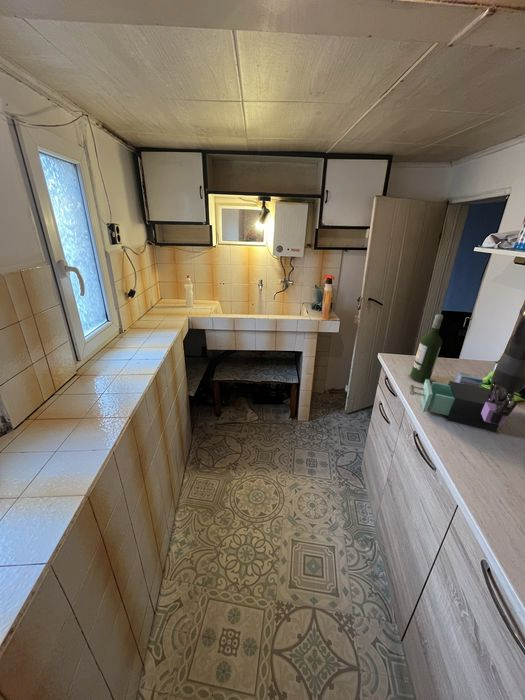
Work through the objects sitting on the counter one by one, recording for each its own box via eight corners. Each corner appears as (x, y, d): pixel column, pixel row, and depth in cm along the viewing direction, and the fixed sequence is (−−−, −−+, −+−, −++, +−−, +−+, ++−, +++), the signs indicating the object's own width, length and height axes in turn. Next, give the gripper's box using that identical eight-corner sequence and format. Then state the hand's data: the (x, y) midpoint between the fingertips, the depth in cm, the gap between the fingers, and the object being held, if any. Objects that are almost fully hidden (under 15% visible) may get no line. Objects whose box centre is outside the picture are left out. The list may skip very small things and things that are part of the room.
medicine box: (454, 394, 116) (461, 376, 112) (451, 389, 120) (457, 371, 116) (476, 398, 114) (483, 380, 110) (472, 393, 118) (479, 375, 114)
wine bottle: (407, 373, 131) (425, 311, 118) (424, 374, 131) (444, 312, 118) (414, 382, 124) (434, 317, 111) (432, 383, 124) (455, 318, 111)
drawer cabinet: (447, 420, 100) (455, 398, 96) (441, 401, 111) (449, 380, 107) (496, 432, 95) (507, 409, 91) (485, 411, 106) (495, 390, 102)
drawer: (407, 407, 105) (412, 389, 102) (406, 392, 115) (410, 375, 111) (465, 421, 99) (473, 403, 95) (459, 404, 108) (466, 387, 105)
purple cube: (497, 417, 89) (503, 405, 87) (502, 425, 85) (507, 413, 83) (480, 413, 90) (485, 401, 88) (484, 421, 86) (489, 409, 85)
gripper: (540, 384, 73) (514, 436, 80) (520, 362, 85) (499, 408, 92) (505, 378, 76) (483, 428, 83) (490, 357, 88) (472, 402, 95)
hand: (491, 417), depth 87 cm, fingers closed on purple cube, 4 cm apart
